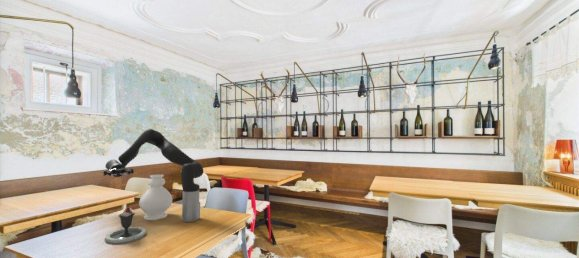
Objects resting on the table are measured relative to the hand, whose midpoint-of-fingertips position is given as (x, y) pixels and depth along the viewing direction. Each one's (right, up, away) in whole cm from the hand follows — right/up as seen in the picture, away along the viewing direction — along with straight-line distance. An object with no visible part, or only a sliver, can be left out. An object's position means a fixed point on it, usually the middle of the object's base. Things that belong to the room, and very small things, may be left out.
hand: (119, 173), depth 138 cm
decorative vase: (+13, -29, +12) cm, 34 cm away
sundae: (+15, -27, -17) cm, 36 cm away
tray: (+15, -28, -17) cm, 36 cm away
